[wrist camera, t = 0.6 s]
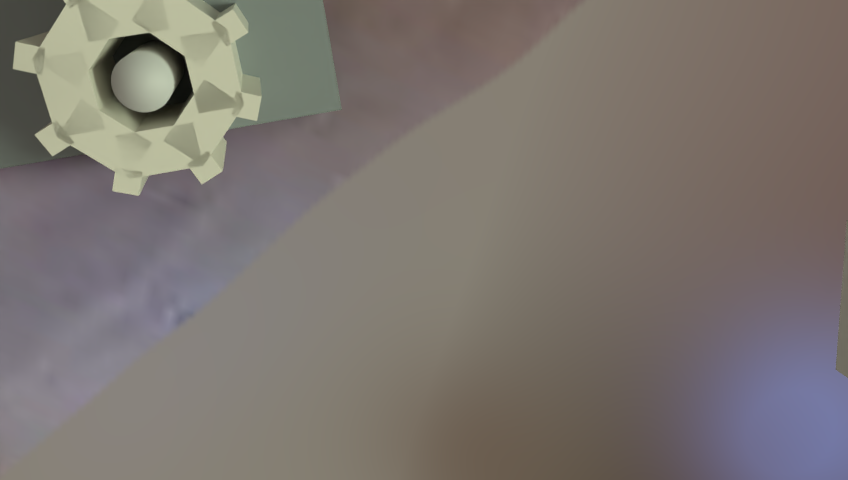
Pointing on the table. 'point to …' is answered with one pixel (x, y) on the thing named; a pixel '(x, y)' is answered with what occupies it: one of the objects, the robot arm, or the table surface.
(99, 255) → the table surface
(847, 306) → the robot arm
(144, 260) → the table surface
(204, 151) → the gear
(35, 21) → the gear board
